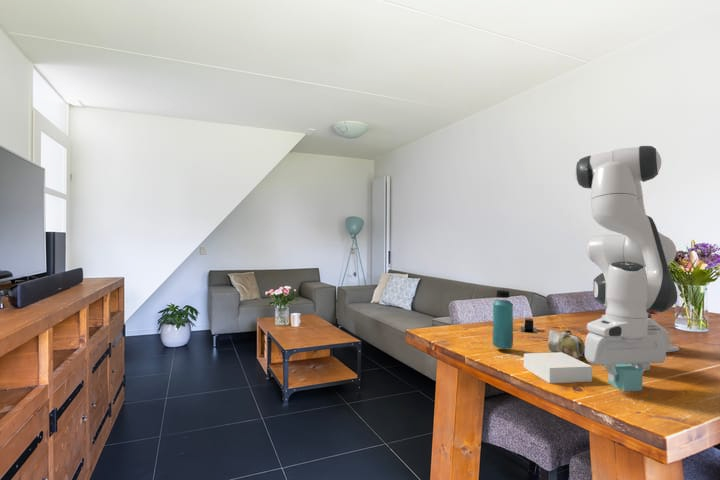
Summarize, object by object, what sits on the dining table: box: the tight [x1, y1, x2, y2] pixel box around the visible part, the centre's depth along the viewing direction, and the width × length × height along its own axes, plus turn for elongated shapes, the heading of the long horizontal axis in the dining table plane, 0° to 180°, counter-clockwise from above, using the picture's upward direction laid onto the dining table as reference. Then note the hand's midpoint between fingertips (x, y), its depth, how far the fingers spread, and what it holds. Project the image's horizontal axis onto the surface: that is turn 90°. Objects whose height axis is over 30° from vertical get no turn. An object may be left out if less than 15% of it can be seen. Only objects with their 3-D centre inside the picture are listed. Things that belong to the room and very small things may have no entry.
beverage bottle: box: [492, 289, 514, 350], centre depth 125 cm, size 6×7×20 cm
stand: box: [523, 352, 593, 384], centre depth 104 cm, size 12×12×4 cm
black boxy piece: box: [520, 317, 539, 334], centre depth 154 cm, size 13×8×5 cm, turn 158°
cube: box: [607, 364, 644, 392], centre depth 96 cm, size 5×5×5 cm
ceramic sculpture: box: [547, 328, 585, 361], centre depth 120 cm, size 11×9×15 cm
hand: (624, 380), depth 96 cm, fingers closed on cube, 5 cm apart
